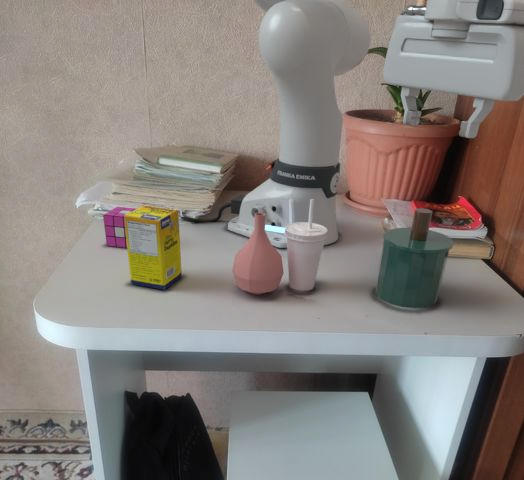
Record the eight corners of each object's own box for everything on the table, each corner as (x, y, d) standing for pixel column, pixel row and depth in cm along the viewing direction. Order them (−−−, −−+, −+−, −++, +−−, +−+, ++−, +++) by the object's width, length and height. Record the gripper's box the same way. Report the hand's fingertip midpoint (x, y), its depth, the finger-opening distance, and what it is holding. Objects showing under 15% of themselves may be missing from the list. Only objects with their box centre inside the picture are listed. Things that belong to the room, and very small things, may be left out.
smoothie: (310, 301, 77) (318, 207, 70) (273, 290, 80) (278, 199, 73) (328, 287, 82) (338, 198, 75) (293, 277, 85) (299, 190, 77)
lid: (372, 247, 74) (378, 212, 71) (396, 230, 81) (401, 197, 78) (440, 263, 69) (449, 226, 67) (459, 243, 77) (467, 209, 74)
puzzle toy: (120, 236, 98) (116, 206, 96) (148, 239, 98) (145, 209, 95) (106, 245, 94) (102, 214, 91) (136, 249, 93) (133, 217, 90)
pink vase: (285, 284, 82) (290, 209, 76) (278, 304, 76) (283, 224, 69) (237, 279, 83) (238, 204, 77) (227, 299, 77) (227, 219, 70)
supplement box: (182, 276, 83) (179, 209, 77) (164, 291, 78) (160, 220, 72) (149, 270, 85) (144, 204, 79) (130, 284, 80) (123, 214, 74)
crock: (366, 300, 78) (375, 243, 73) (387, 280, 85) (396, 227, 80) (425, 317, 74) (439, 257, 69) (443, 295, 81) (456, 239, 76)
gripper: (382, 2, 66) (365, 119, 74) (527, 2, 52) (488, 146, 60) (415, 6, 70) (396, 117, 77) (560, 7, 55) (519, 143, 63)
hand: (437, 130), depth 68 cm, fingers open, 8 cm apart
